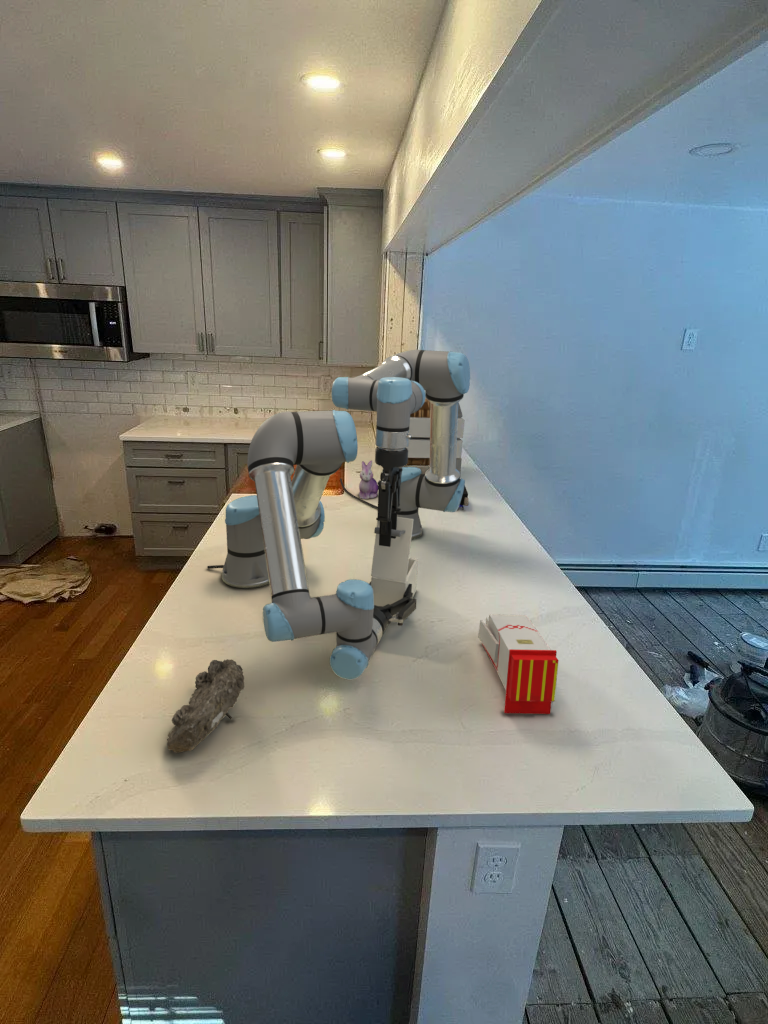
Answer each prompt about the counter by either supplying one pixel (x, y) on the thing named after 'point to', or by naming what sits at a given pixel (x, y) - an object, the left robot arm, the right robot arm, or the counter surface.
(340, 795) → the counter surface
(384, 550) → the lid
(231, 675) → the fossil
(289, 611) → the left robot arm
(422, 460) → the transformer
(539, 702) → the toy
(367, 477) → the figurine
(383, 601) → the chest
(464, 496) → the figurine character
